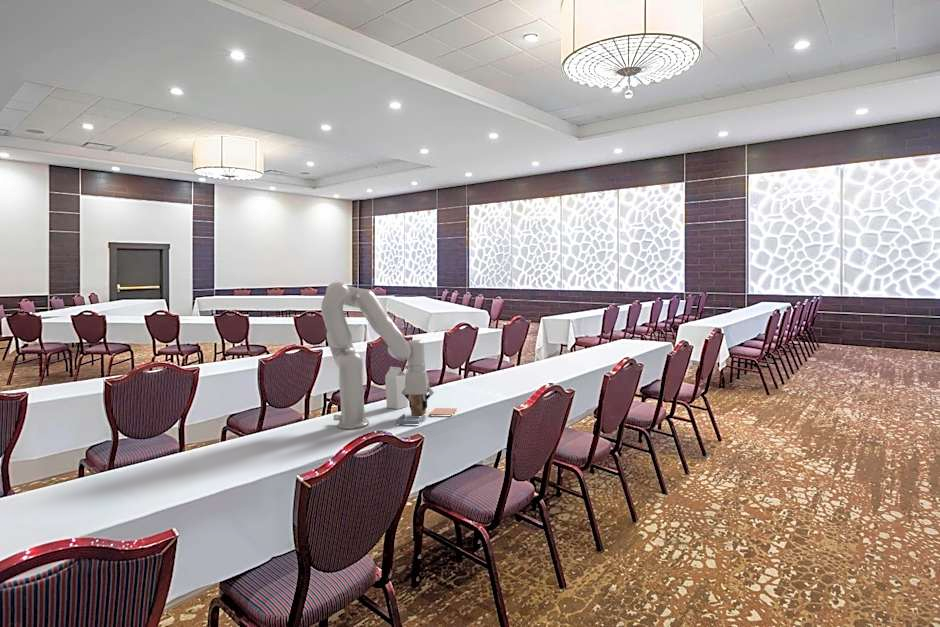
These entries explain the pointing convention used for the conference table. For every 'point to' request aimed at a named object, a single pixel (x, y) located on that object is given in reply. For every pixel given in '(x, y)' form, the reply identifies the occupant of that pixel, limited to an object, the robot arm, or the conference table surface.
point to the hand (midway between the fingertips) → (418, 408)
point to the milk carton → (395, 388)
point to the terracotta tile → (443, 411)
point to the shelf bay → (402, 421)
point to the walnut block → (417, 405)
